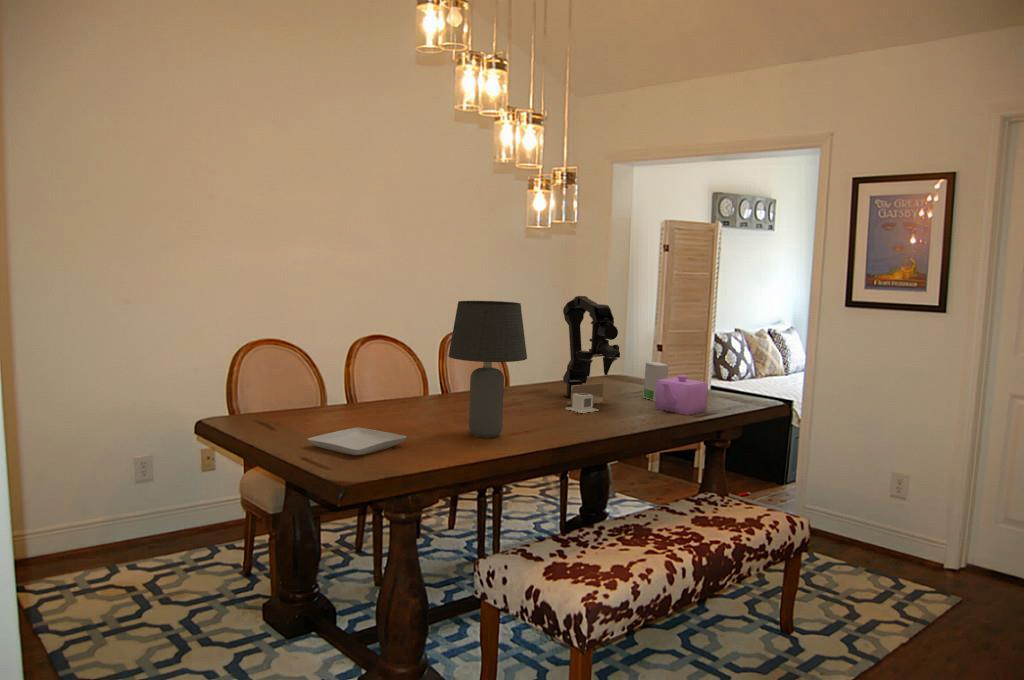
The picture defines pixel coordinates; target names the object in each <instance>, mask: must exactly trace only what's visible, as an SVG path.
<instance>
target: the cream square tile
mask: <svg viewBox="0 0 1024 680" xmlns="http://www.w3.org/2000/svg"><path fill="white" fill-rule="evenodd" d="M565 410H566V411H569V410H571V411H570V412H573V411H575V412H574V413H577V412H578V414H580V413H583V414H588V413H587V412H591V413H595V412H594V411H599V410H600V409H597V408H596V407H595V408H594V407H592V409H589V410H578V409H574V408H572V406H568V407H567V406H566V407H565ZM599 412H600V411H599Z"/></svg>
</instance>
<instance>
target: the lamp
mask: <svg viewBox="0 0 1024 680" xmlns="http://www.w3.org/2000/svg"><path fill="white" fill-rule="evenodd" d="M455 311H456V312H455V318H454V323H453V329H452V335H451V339H450V346H449V351H448V357H449V358H450V359H454V360H459V361H467V362H477V363H478V362H479V363H483V366H482V367H478V368H475V369H474V370H472V372H471V373H470V377H469V378H470V379H469V380H470V381H469V408H468V409H469V412H468V415H469V416H468V419H469V420H468V430H469V433H470V434H471V435H472V436H474V437H476V438H479V437H480V438H481V439H493V437H494V438H497V437H499V436H500V435H501V433H502V431H503V426H504V424H503V421H504V396H505V395H504V394H505V393H504V391H505V390H504V389H505V375H504V373H503V372H502V371H501V370H500V369H499V368H497V367H493V363H510V362H511V363H514V362H520V361H521V362H522V361H526V360H528V355H527V345H526V339H525V328H524V319H523V312H522V305H521V303H520V302H517V301H516V302H515V301H514V302H513V301H503V300H502V301H501V300H500V301H498V300H459V301H458V302H457V307H456V310H455Z"/></svg>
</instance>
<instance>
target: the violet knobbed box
mask: <svg viewBox="0 0 1024 680" xmlns="http://www.w3.org/2000/svg"><path fill="white" fill-rule="evenodd" d="M708 388H709V382H706V381H700V380H694V379H688V376H687V375H684V374H678V375H677V377H668V378H667V379H661V380H657V381H656V399H655V401H654V409H655V408H657V409H656V410H658V409H661V410H660V411H663V410H666V411H665V412H668V411H670V412H669V413H673V412H675V413H674V414H678V413H680V414H679V415H683V414H685V415H684V416H691V415H690V414H692V415H695V414H694V413H697V414H700V413H699V412H702V413H704V412H703V411H706V412H707V403H708V391H709V390H708Z"/></svg>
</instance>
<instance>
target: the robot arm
mask: <svg viewBox="0 0 1024 680" xmlns="http://www.w3.org/2000/svg"><path fill="white" fill-rule="evenodd" d="M587 312H588V315H589V317H590V318H591V319H592V321H591V322H590V324H591V325H592V328H591V329H592V330H591V338H589V342H591V347H590V348H589V349H588V350H583V349H582V337H581V336H582V335H581V324H582V322H583V320H584V317H585V313H587ZM562 313H563V316H564V321H565V322H566V324H567V326H568V333H569V338H568V339H569V353H570V355H569V356H570V359H569V361H568V363H567V366H566V372H565V373H564V375H563V376H562V381H563V383H565V384H566V394H563V397H565V398H570V399H571V386H572V385H583V384H587V379H588V378H589V377H590V375H591V367H592V366H591V365H592V363H593V362H594V361H593V358H596V357H598V358H599V357H602V362H603V374H604V376H608V373H609V371H610V369H611V366H612V364H613V363H614V362H615V361H616V360H618V358H621V352H620V345H618V344H612V345H610V341H612V340H615V339H616V338H617V337H618V334H619V330H618V327H617V326H616V325H615V324H614V323H615V321H614V319H615V318H614V315H613V312H612V309H611V307H610V306H609V305H608V304H602V303H600V304H599V303H597V302H596V301H593V300H592V299H590V298H589V297H588V296H586V295H577V296H574V298H573V299H571V300H569V301H568V302H567V303H566V304H565V306H564V307H563V308H562Z"/></svg>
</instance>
